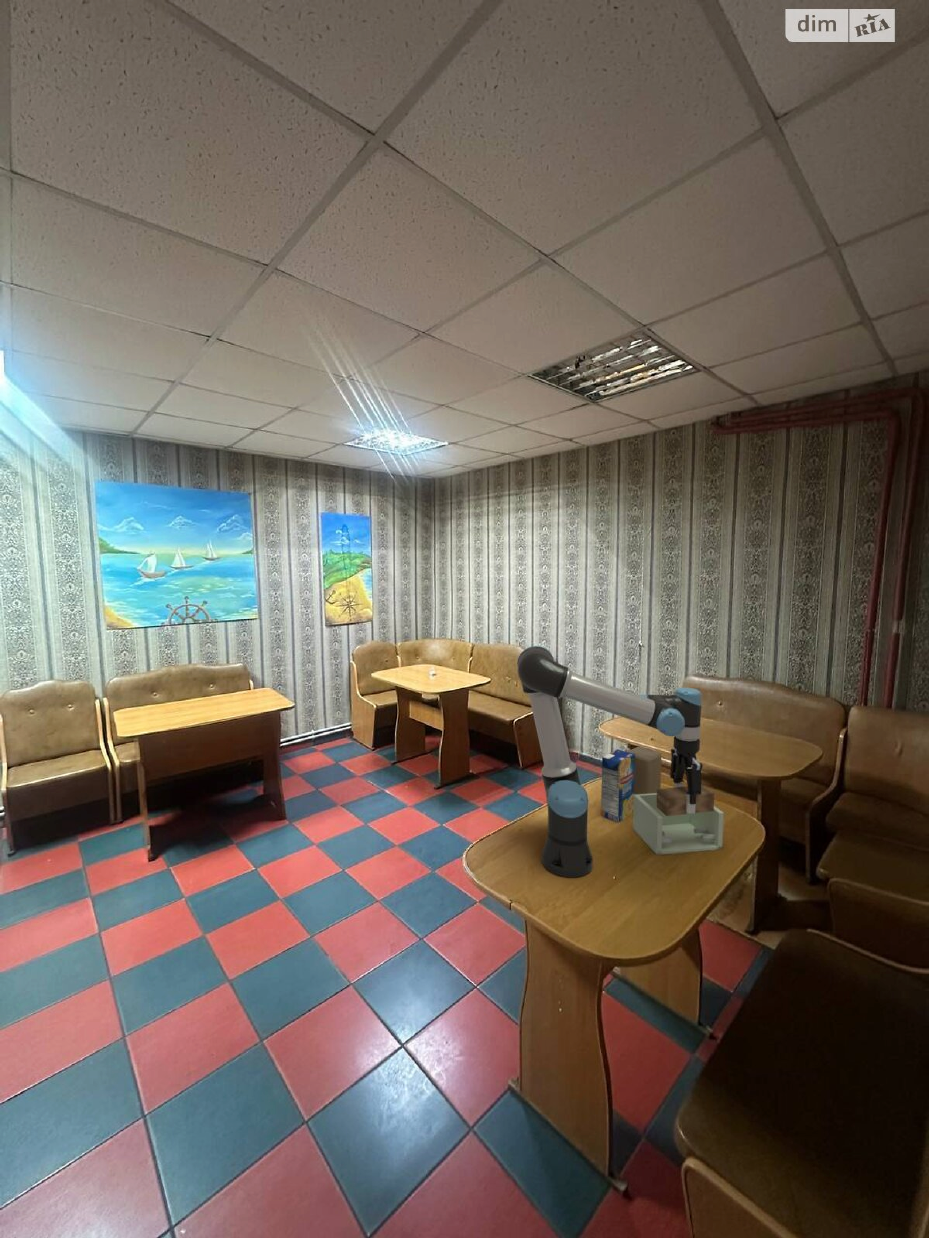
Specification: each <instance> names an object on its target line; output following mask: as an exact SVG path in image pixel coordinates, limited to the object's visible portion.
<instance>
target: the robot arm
mask: <svg viewBox="0 0 929 1238" xmlns="http://www.w3.org/2000/svg"><path fill="white" fill-rule="evenodd" d="M516 661H517V662H516V664H517V674H518V678H519V681H520V683H521V686H522V691H523V693H524V694H525V695H526V696H528V697H529V701H530V706H531V711H532V715H533V720H534V723H535V729H536V733H537V738H538V742H539V746H540V752H541V756H542V761H543V766H542V768H541V771H540V773H541V777H542V782H543V786H544V790H545V792H544V793H545V796H546V797H545V798H546V804H547V837H546V840H545V843H544V846H543V848H542V851H541V863H542V865H543V867H544V868H545V869H546V870H547V871H549V872H550V873H552V874H554V875H557V876H560V877H563V878H570V879H571V878H573V879H574V878H581V877H584V876H586V875H589V873H590V872H591V871H592V869H593V867H594V866H593V865H594V863H593V855H592V852H591V848H590V845H589V842H588V814H589V813H588V811H589V809H588V807H589V797H588V795H589V794H588V792H587V790H586V788H585V787H584V786H583V785H582V784H581V779H580V775H579V772H578V767H577V764H576V763H575V762H573V761H572V760H571V757H570V753H569V748H568V743H567V737H566V734H565V730H564V729H565V728H564V725H563V720H562V716H561V711H560V710H561V709H560V706H559V700H558V699H561V698H563V697H564V698H566V699H569V700H572V701H574V702H579V703H580V704H584V705H587V706H590V707H592V708H595V709H598V710H601V711H604V712H607V713H610V714H613V715H616V716H618V717H621V718H625V719H628V720H630V721H634V722H636V723H639V724H642V725H645V726H647V727H650V728H653V729H656V730H658V732H660V733H661V734H663V735H665V736H667V737H673V748H672V749H670V753H671V754H670V755H671V757H670V772H669V773H670V774H669V777H670V779H672V782H673V783H674V785H673V788H675V787H685V786H684V783H685V781H684V775H685V778H686V779H685V780H686V785H687V786H688V792H686V813H687V814H690V813H695V805H696V795H700V794H701V785H702V770H703V763H702V762H699V761H698V760H697V754H698V753H699V751H700V748H701V747H700V745H701V739H700V738H701V719H702V706H703V705H702V704H703V703H702V693H701V691H700V690H699V689H696V688H692V687H677V688H676V689H675V691H674V694H648V693H646V694H637V693H636V694H635V693H633V692H631V691H628V690H627V691H626V690H623V689H621V688H618V687H615V686H612V685H609V684H606V683H605V682H601V681H598V680H596V679H592V678H590V677H587V676H584V675H581V674H578V673H575V672H573V671H571V669H570V667H569V666H565V665H563V664H561V663H559V662H557V661H555V659H554V656H553V655H552V653H551V652H550V650H548V649H547V648H545V647H543V646H539V645H532V646H529V647H526V648H525V649H524V650H522V652H521V653H520V655H519V656H518V658H517V660H516Z"/></svg>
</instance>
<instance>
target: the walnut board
mask: <svg viewBox="0 0 929 1238" xmlns="http://www.w3.org/2000/svg"><path fill="white" fill-rule="evenodd" d="M686 792H688V786H684V787H675V788H674V787H665V788H660V789H657V808H658V809H659V810H660V811H661V812H663V813H664V814H665V815H666V816H674V815H683V814H687V813H686ZM714 806H715V792H714V791H712V790H711V789H709V788H708V787H706V786H705V785H703V784H701V794H700V795H696V805H695V813H701V812H710V811H714ZM690 814H692V813H690Z"/></svg>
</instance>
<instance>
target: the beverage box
mask: <svg viewBox="0 0 929 1238" xmlns="http://www.w3.org/2000/svg"><path fill="white" fill-rule="evenodd" d="M601 759H602V760H601V761H602V762H601V795H600V796H601V801H600V802H601V803H600V805H601V806H600V807H601V808H600V816H601V817H603V818H605V819H607V820H609V821H613V822H615V823H617V824H619V823H621V822H622V821H623V820H625V819H626V818H628V817H629V816H630V815H633V803H634V772H635V754H633V753H629V752H627V751H626V750H622V749H616V750H614V751H611V752H609V753H608V754H606V755H603V756H602V758H601Z"/></svg>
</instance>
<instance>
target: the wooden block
mask: <svg viewBox="0 0 929 1238" xmlns="http://www.w3.org/2000/svg"><path fill="white" fill-rule="evenodd" d="M626 752H629V753H633V754H635V772H634V795H637V794H651V793H657V789H661V778H662V756H663V755H662V753H661V752H659V751H655V750H652V749H648V748H645V747H643V746H637V747H634V748H632V749H629V750H627V751H626Z"/></svg>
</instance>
